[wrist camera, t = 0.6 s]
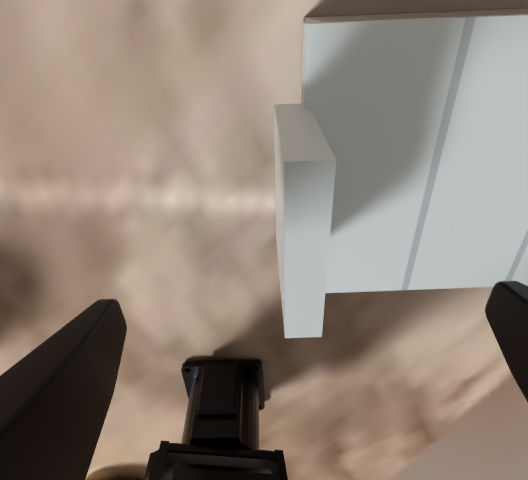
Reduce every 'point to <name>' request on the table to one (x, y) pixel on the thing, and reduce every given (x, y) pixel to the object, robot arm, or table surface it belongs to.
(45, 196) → the table surface
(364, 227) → the lid
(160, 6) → the table surface
